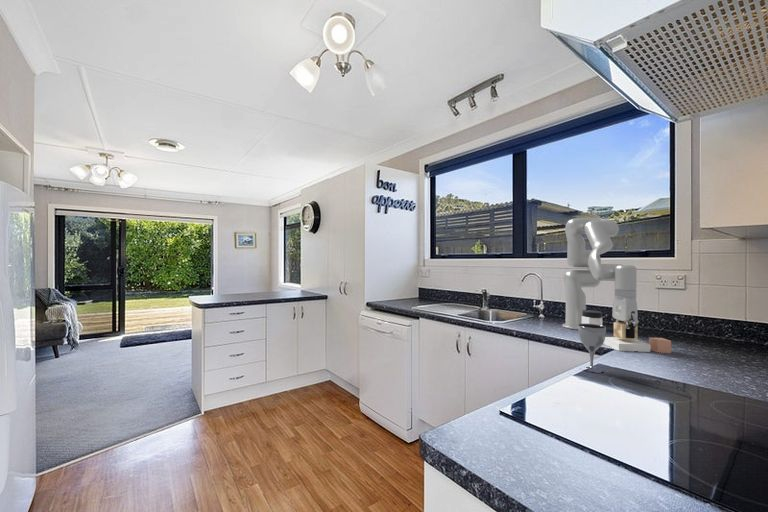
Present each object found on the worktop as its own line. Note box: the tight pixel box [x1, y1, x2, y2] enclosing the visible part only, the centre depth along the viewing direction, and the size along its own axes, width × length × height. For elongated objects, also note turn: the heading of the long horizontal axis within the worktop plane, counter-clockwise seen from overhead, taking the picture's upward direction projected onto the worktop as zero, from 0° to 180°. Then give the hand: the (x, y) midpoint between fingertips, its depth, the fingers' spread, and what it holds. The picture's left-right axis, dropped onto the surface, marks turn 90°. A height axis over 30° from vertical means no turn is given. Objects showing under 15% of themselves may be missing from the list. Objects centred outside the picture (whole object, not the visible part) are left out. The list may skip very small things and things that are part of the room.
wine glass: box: [578, 324, 607, 369], centre depth 112 cm, size 8×8×15 cm
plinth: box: [603, 336, 651, 353], centre depth 141 cm, size 12×12×3 cm
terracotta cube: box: [648, 337, 672, 354], centre depth 136 cm, size 5×5×5 cm
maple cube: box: [613, 321, 639, 340], centre depth 141 cm, size 6×6×6 cm
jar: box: [582, 309, 603, 326], centre depth 162 cm, size 9×8×12 cm
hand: (625, 335), depth 141 cm, fingers closed on maple cube, 5 cm apart
